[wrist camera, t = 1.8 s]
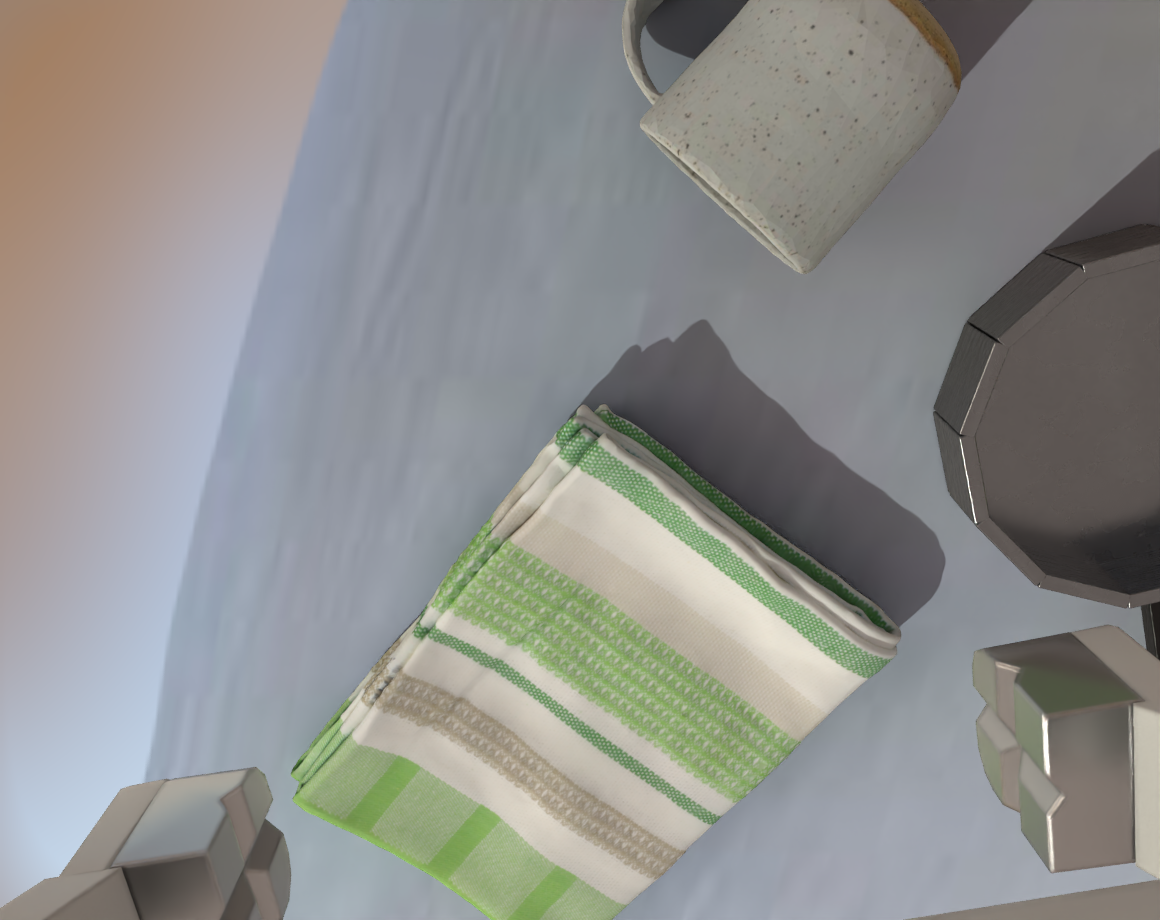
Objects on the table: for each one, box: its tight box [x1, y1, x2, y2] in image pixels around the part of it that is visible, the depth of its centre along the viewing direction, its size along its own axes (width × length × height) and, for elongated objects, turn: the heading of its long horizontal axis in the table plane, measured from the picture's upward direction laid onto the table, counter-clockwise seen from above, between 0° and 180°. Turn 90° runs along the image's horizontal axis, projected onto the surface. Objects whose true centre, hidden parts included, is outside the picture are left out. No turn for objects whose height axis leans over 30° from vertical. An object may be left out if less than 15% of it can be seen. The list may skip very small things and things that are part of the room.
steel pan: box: [933, 224, 1160, 661], centre depth 40 cm, size 14×24×3 cm, turn 17°
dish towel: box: [291, 404, 901, 920], centre depth 44 cm, size 17×23×4 cm
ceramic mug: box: [622, 0, 962, 274], centre depth 33 cm, size 11×8×8 cm
